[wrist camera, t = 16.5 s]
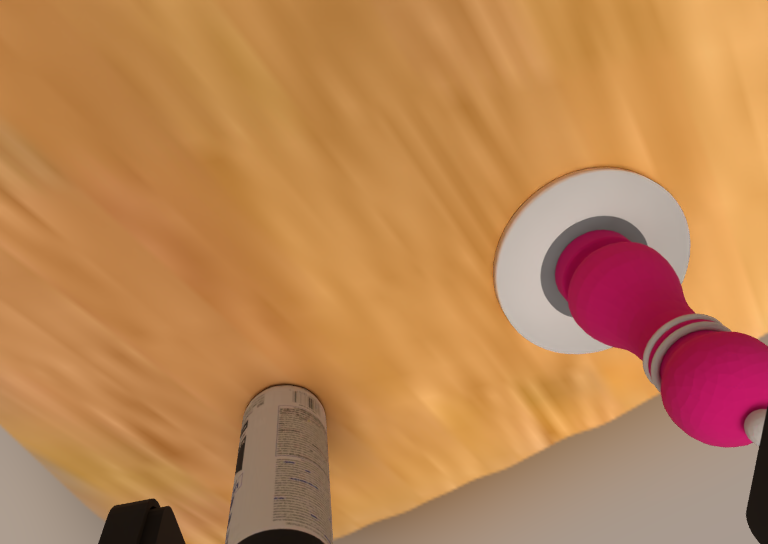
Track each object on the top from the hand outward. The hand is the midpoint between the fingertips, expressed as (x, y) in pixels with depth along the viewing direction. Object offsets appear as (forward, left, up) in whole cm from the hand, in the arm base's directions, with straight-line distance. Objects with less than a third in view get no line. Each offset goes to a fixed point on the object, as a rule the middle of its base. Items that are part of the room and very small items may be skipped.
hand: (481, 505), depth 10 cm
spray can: (+23, -8, -35) cm, 43 cm away
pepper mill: (+13, +17, -33) cm, 40 cm away
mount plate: (+13, +17, -35) cm, 41 cm away
